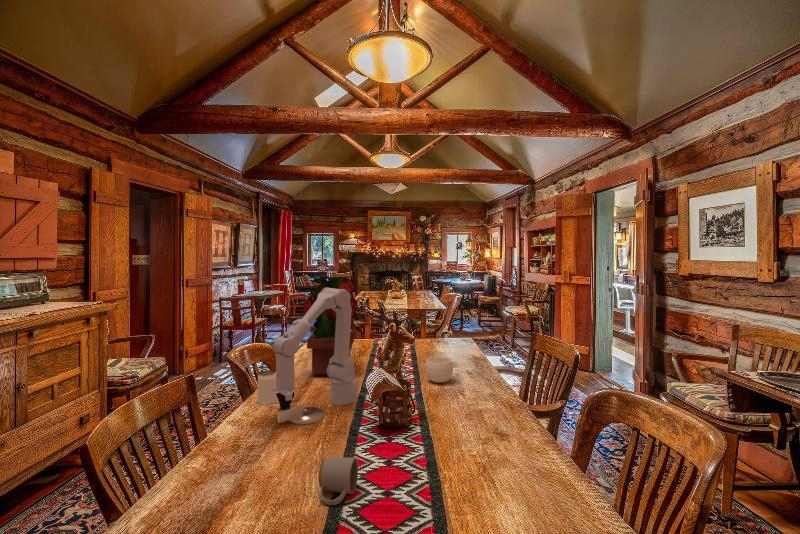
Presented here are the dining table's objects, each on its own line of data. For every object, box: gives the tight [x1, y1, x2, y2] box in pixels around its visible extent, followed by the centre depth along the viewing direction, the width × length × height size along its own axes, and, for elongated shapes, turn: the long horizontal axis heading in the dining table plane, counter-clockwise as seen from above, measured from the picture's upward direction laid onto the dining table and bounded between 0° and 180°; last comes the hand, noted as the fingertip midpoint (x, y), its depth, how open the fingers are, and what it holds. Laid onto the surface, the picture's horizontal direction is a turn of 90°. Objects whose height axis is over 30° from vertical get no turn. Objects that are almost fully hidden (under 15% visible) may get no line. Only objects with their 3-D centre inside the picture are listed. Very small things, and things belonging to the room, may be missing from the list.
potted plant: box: [303, 275, 359, 377], centre depth 189 cm, size 22×22×45 cm
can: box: [257, 370, 277, 406], centre depth 149 cm, size 6×6×12 cm
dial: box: [277, 403, 325, 426], centre depth 134 cm, size 16×12×5 cm
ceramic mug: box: [318, 456, 359, 506], centre depth 96 cm, size 11×8×8 cm
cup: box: [424, 356, 454, 384], centre depth 179 cm, size 12×12×10 cm
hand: (285, 414), depth 132 cm, fingers closed, pressing on dial
